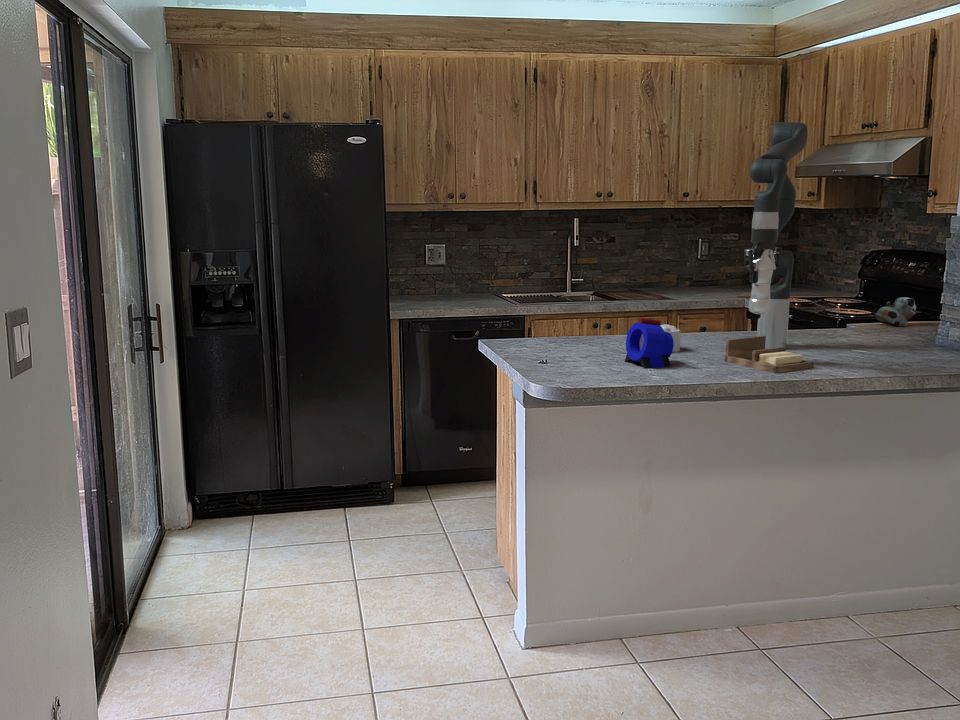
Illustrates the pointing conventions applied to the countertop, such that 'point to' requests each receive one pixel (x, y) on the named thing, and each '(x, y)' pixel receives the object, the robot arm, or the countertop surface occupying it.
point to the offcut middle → (778, 364)
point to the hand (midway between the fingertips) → (761, 282)
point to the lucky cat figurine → (897, 312)
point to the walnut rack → (752, 348)
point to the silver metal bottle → (762, 287)
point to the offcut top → (780, 357)
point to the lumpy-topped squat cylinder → (673, 335)
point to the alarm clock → (649, 344)
